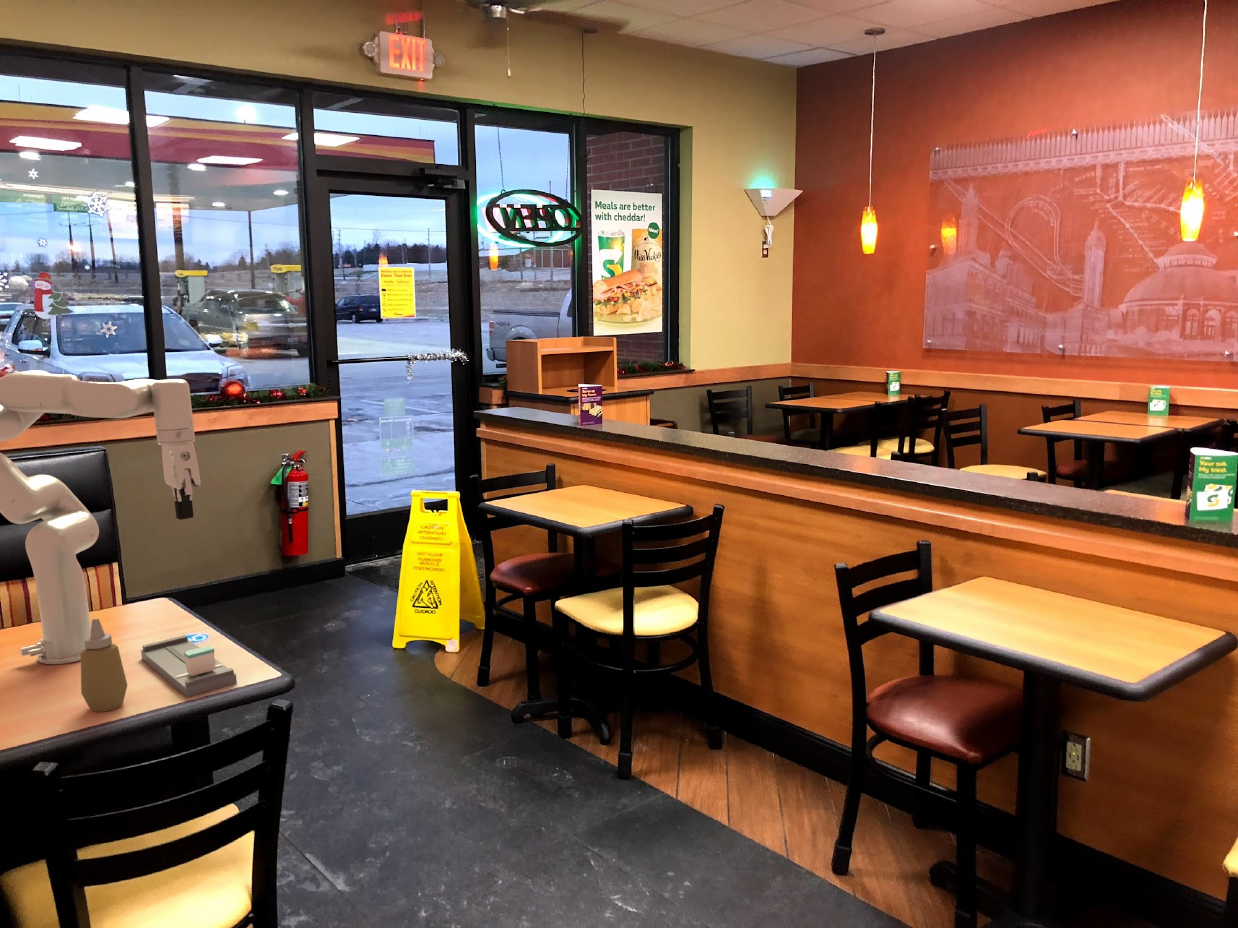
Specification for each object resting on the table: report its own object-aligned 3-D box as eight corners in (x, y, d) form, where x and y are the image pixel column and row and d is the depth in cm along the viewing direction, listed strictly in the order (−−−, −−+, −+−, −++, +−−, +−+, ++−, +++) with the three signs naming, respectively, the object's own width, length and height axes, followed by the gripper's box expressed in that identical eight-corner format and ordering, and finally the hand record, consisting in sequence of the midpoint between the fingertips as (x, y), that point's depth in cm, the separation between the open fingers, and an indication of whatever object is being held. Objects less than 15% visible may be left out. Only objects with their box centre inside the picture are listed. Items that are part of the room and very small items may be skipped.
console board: (186, 697, 196) (185, 683, 196) (141, 658, 218) (140, 645, 218) (236, 682, 203) (235, 669, 202) (188, 647, 225) (186, 634, 224)
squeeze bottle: (83, 718, 187) (71, 629, 184) (84, 703, 195) (72, 617, 191) (130, 709, 191) (118, 621, 188) (129, 694, 198) (118, 610, 195)
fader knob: (190, 676, 200) (188, 655, 200) (186, 672, 202) (183, 652, 202) (216, 669, 204) (214, 648, 203) (211, 665, 206) (209, 645, 205)
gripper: (205, 437, 210) (214, 520, 213) (182, 431, 221) (191, 510, 224) (168, 441, 205) (178, 526, 208) (147, 435, 216) (156, 516, 219)
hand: (185, 517), depth 216 cm, fingers closed
